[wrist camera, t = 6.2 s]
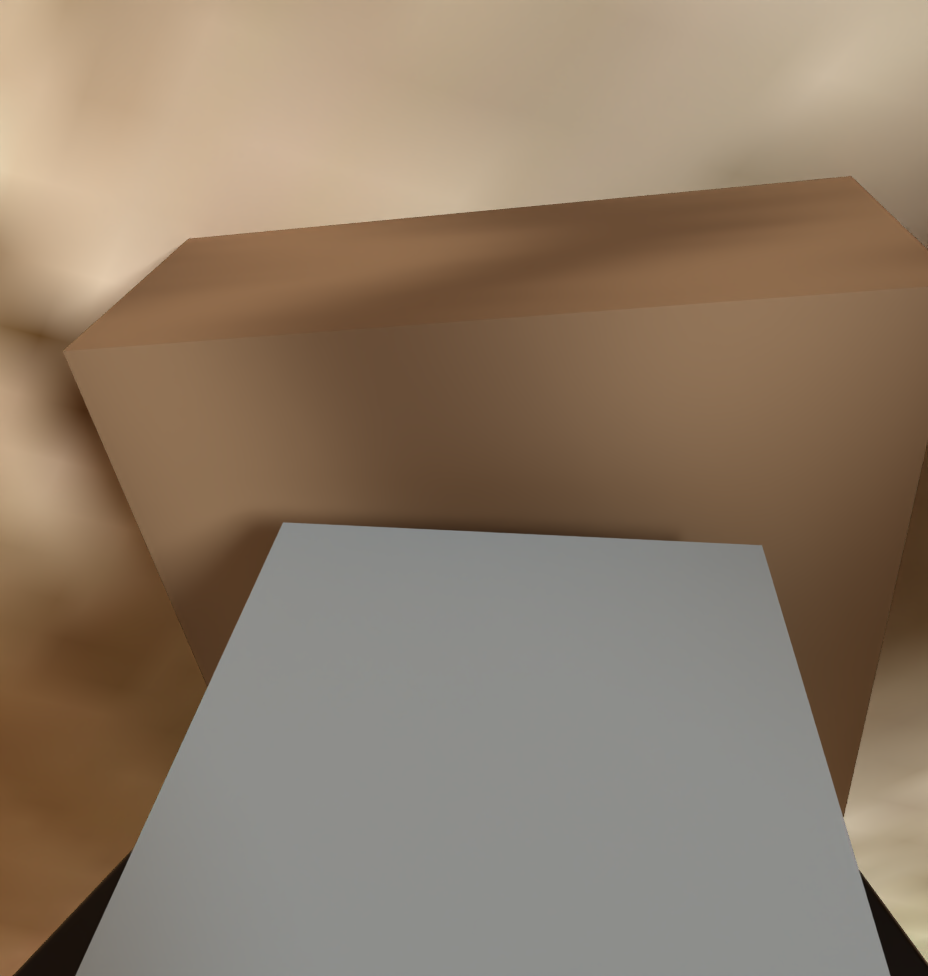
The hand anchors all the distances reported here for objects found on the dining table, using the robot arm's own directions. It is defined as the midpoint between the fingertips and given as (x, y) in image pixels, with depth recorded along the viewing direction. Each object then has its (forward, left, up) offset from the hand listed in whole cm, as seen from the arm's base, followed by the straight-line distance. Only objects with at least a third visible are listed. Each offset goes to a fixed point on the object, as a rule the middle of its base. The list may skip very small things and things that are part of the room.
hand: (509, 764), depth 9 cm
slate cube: (0, 0, -1) cm, 1 cm away
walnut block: (0, 0, -6) cm, 6 cm away
